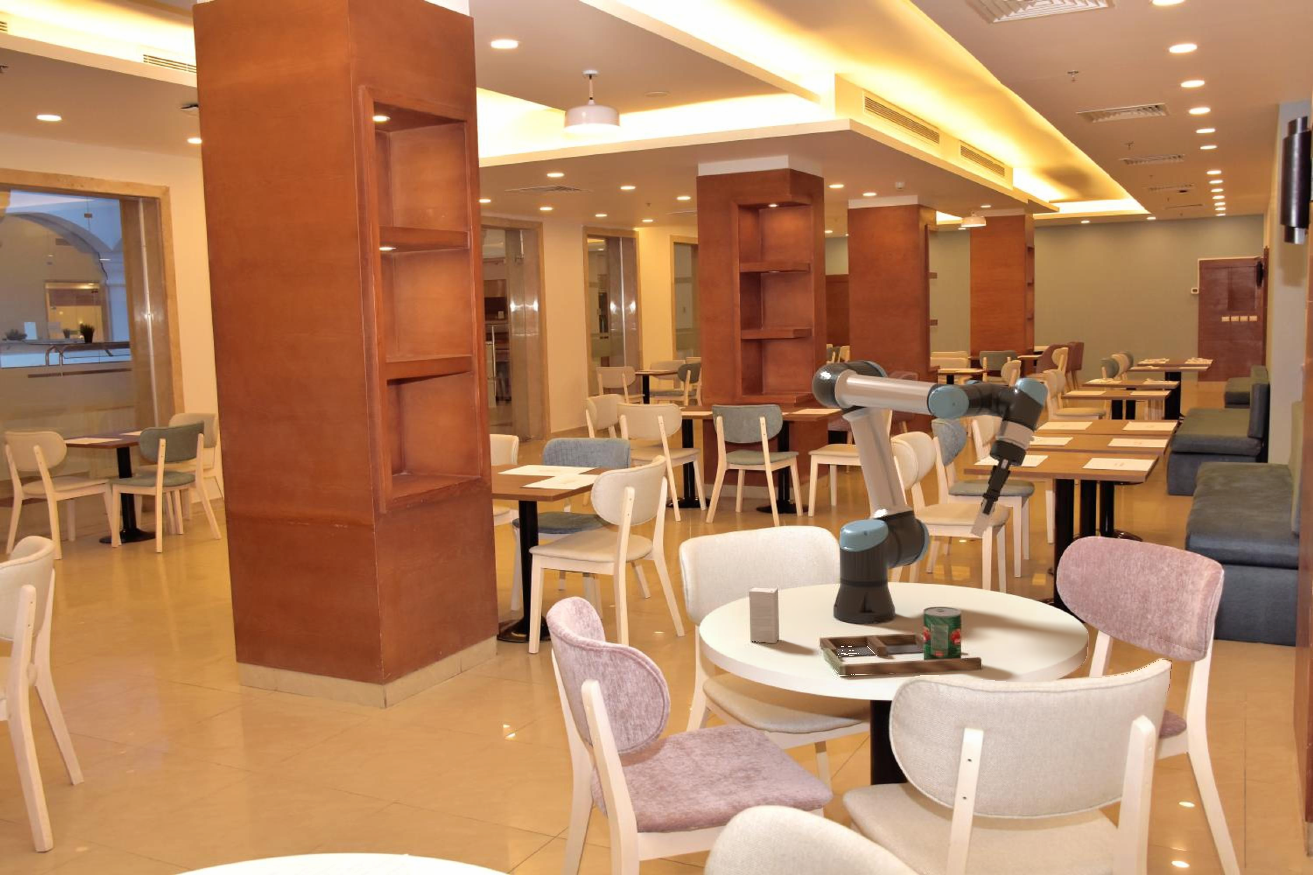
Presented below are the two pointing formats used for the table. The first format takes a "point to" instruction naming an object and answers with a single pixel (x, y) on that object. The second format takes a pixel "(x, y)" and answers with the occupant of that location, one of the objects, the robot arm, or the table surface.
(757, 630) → the skincare box
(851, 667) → the wooden rail frame
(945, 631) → the canned tomato
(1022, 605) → the table surface
